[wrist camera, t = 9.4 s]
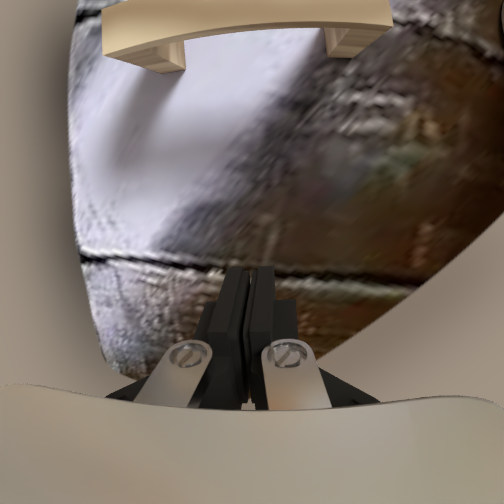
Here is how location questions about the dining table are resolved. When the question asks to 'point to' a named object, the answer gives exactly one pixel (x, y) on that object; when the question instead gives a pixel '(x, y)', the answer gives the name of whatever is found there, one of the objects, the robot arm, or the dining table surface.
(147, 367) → the dining table surface
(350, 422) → the robot arm
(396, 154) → the dining table surface
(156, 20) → the bridge
